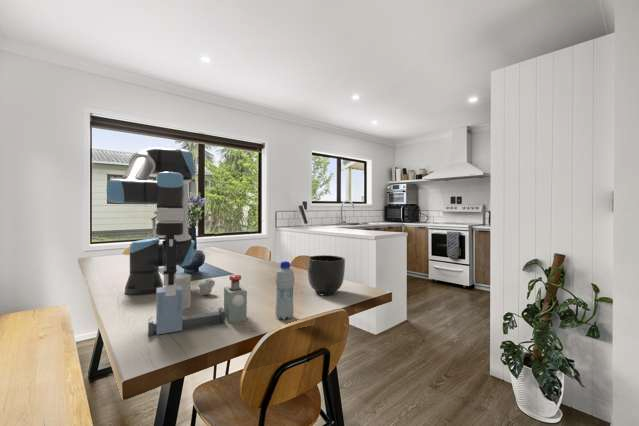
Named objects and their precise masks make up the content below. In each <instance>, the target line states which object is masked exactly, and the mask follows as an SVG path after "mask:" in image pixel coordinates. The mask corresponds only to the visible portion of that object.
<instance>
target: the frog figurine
mask: <svg viewBox="0 0 639 426" xmlns="http://www.w3.org/2000/svg"><path fill="white" fill-rule="evenodd" d="M215 284H216V281H215V280H213V279H212V278H206V279H204V280H203V281H202V282H200V283H199V284H198V287H199V292H200V294H202V295H203V296H208V295H210V294H211V293H212V290H213V287H214V286H215Z"/></svg>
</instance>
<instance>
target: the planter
mask: <svg viewBox="0 0 639 426" xmlns="http://www.w3.org/2000/svg"><path fill="white" fill-rule="evenodd" d="M345 268H346V258H345V257H343V256H338V255H327V254H326V255H324V254H321V255H313V256H312V255H311V256H309V257H307V278H308V282H309V285H310V287H311V289H313V290H314V292H315V293H316V294H317V293H318V294H317V295H319V294H323V295H322V296H330V295H329V294H333V295H335V294H336V293H337V291H338V290H339V289H340V288H341V287H342V286H343V282H344V278H345V271H346V270H345ZM334 293H335V294H334Z"/></svg>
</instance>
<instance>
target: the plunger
mask: <svg viewBox="0 0 639 426" xmlns="http://www.w3.org/2000/svg"><path fill="white" fill-rule="evenodd" d="M241 280H242V275H241V274H233V275H230V276H229V281H230V282H231V283H230V287H231V291H236V290H239V286H240V281H241Z"/></svg>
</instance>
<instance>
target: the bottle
mask: <svg viewBox="0 0 639 426" xmlns="http://www.w3.org/2000/svg"><path fill="white" fill-rule="evenodd" d="M279 266H280V268H279V269H277V270H276V276H275V285H276V293H275V294H276V297H275V299H276V302H275V316H276V318H277V319H278V320H283V321H284V320H285V321H286V318H287V320H290V319H291V318H292V317H293V316H294V285H295V273H294V272H295V271H294V270H293V269H291V262H289V261H287V260H286V261H285V260H283V261H281V262H280V265H279Z"/></svg>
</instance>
